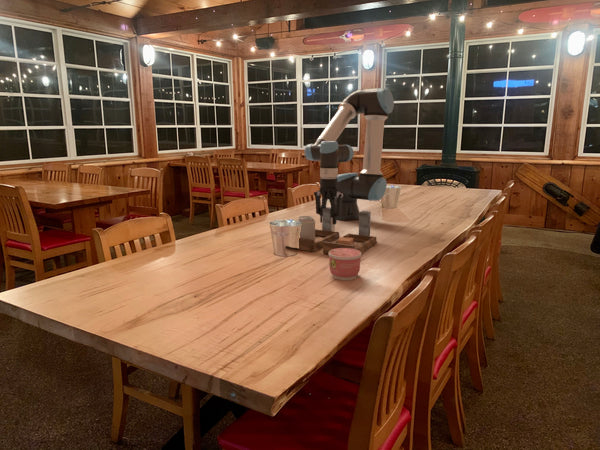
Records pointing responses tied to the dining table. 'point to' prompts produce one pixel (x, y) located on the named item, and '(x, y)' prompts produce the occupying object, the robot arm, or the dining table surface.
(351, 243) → the cube
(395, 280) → the dining table surface
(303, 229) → the can
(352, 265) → the container
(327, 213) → the frame
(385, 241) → the dining table surface
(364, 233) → the lane
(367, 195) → the robot arm
